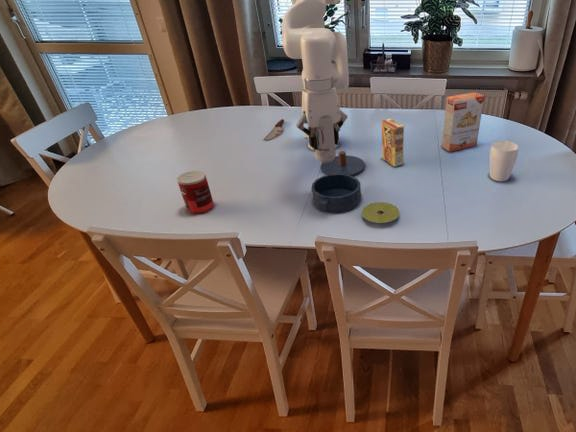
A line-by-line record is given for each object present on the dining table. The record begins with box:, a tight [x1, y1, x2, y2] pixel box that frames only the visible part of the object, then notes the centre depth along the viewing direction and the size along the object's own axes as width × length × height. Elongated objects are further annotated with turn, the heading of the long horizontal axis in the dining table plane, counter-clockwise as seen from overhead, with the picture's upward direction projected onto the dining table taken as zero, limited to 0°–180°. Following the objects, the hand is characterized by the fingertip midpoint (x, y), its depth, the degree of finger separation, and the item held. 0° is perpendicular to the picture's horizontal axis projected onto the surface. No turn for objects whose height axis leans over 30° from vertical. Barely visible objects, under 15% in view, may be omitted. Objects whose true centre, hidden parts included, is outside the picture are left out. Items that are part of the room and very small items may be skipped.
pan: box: [310, 172, 362, 214], centre depth 124 cm, size 15×21×6 cm
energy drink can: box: [314, 115, 337, 164], centre depth 114 cm, size 6×6×15 cm
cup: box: [489, 140, 519, 182], centre depth 135 cm, size 9×9×12 cm
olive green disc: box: [361, 201, 400, 224], centre depth 117 cm, size 11×11×2 cm
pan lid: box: [320, 150, 366, 176], centre depth 143 cm, size 16×16×6 cm
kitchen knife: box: [263, 118, 285, 141], centre depth 174 cm, size 21×2×5 cm
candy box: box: [381, 118, 405, 168], centre depth 145 cm, size 9×4×15 cm, turn 33°
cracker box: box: [441, 91, 485, 153], centre depth 154 cm, size 14×6×21 cm, turn 118°
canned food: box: [176, 170, 214, 215], centre depth 119 cm, size 8×8×11 cm
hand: (324, 145), depth 116 cm, fingers closed on energy drink can, 6 cm apart
